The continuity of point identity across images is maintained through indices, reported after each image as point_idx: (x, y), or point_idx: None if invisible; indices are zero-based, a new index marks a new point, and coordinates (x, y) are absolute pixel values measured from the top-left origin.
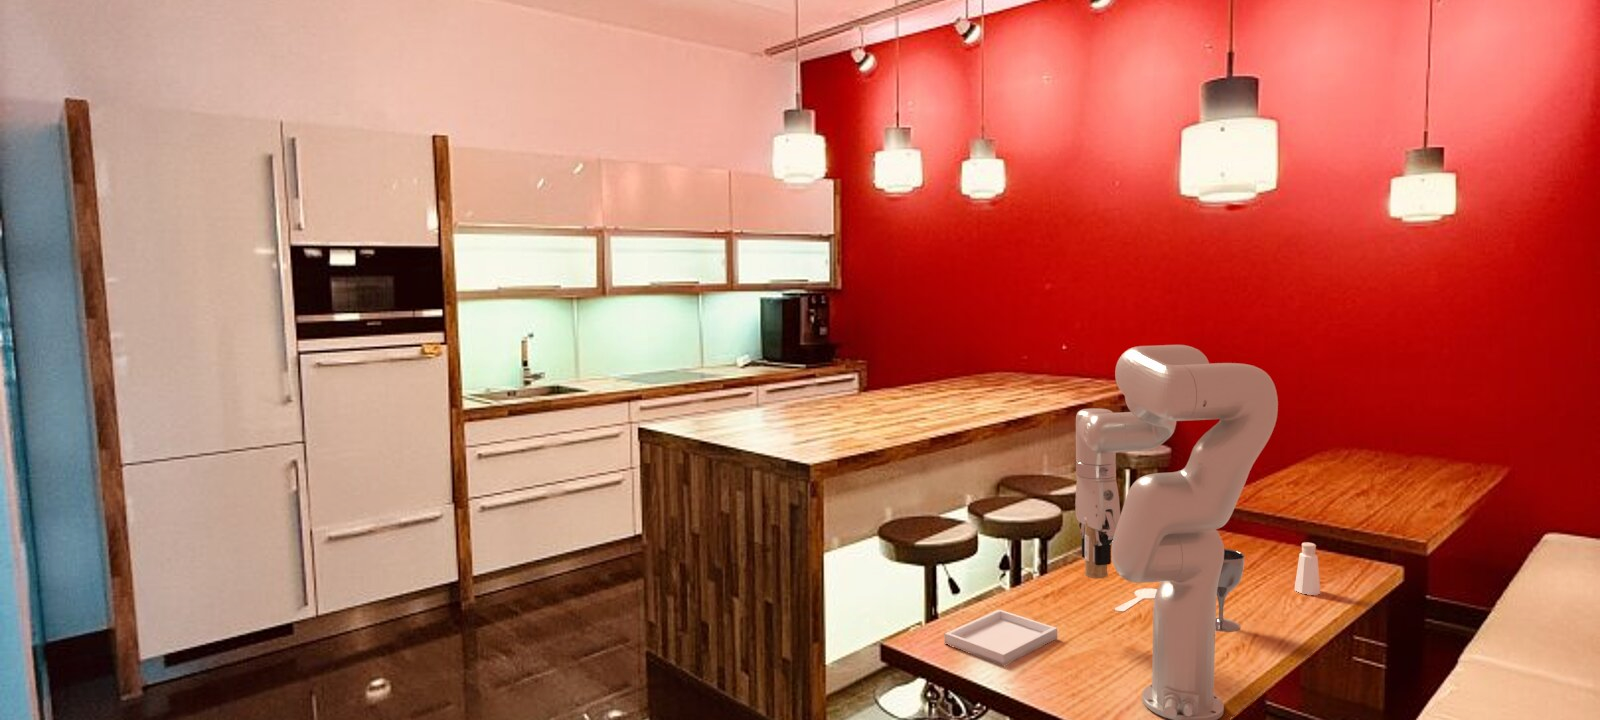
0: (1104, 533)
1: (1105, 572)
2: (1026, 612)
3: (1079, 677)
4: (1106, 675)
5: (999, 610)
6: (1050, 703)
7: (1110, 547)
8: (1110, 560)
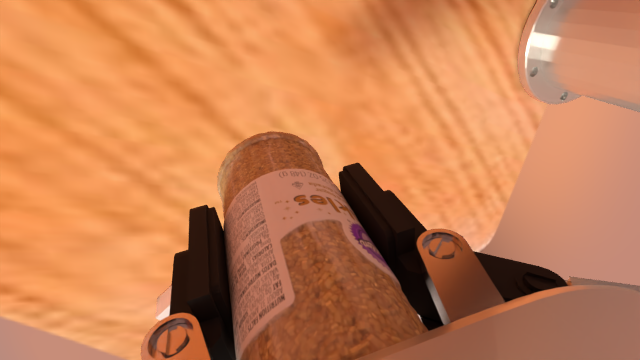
0: (423, 325)
1: (315, 157)
2: (90, 247)
3: (437, 178)
4: (443, 132)
5: (164, 316)
6: (489, 226)
7: (402, 215)
8: (365, 171)
